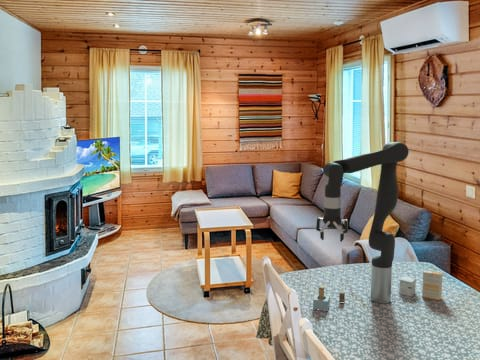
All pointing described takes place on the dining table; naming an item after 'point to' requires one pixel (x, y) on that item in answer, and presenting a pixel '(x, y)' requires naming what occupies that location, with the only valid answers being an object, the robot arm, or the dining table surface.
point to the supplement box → (432, 284)
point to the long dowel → (321, 292)
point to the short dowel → (341, 297)
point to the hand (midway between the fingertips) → (331, 240)
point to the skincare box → (407, 286)
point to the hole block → (321, 302)
